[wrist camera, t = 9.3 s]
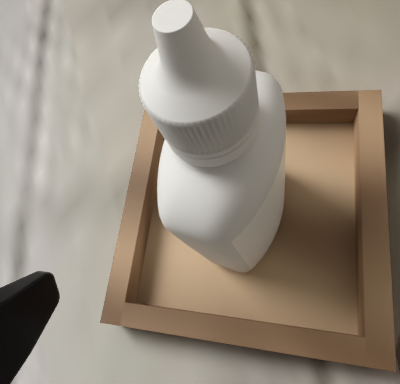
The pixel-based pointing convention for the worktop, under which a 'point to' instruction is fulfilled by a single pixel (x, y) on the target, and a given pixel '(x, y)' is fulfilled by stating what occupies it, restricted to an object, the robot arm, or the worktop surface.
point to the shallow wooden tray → (276, 248)
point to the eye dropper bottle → (215, 139)
